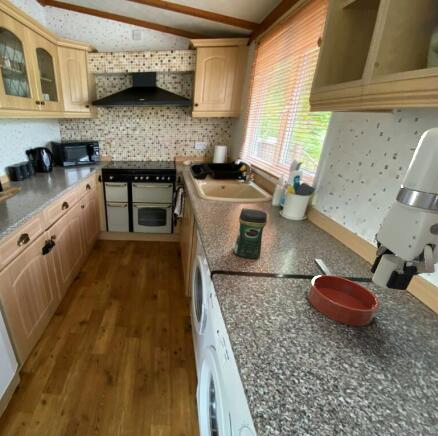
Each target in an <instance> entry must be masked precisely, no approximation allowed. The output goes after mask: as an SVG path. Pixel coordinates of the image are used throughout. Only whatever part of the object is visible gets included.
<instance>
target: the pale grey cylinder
mask: <svg viewBox="0 0 438 436" xmlns="http://www.w3.org/2000/svg"><path fill="white" fill-rule="evenodd" d="M399 258H400V257H399V256H397V255H391V254H384V255H382V258H381V260H380V262H379V264H378V267H377V269H376V271H375V273H373V276H372V278H371V281H372V283H374V284H375V285H377V286H379V287H381V288H383V289H386V290H390V291H398V290H397V289H389V288H388V287H387V286H386V284H387V282H388V280H389V278H390V276H391V274H392V272H393V270H394V271H397V266H398V262H399ZM411 265H412V263H411V262H407V265H406V267H408V266H411Z"/></svg>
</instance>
